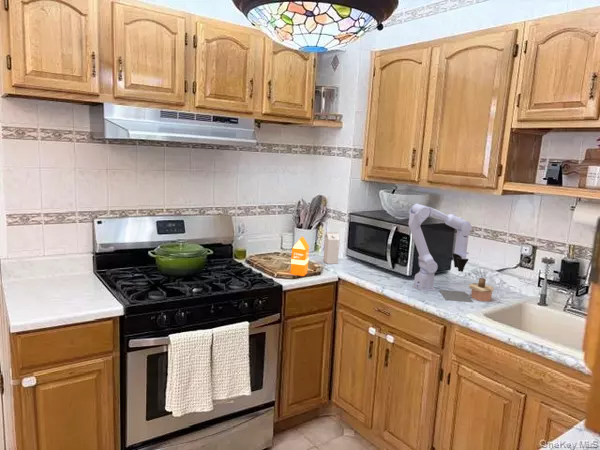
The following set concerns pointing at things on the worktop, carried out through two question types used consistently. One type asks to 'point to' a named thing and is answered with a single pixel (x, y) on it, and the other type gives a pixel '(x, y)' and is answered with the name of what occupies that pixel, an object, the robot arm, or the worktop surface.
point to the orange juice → (300, 258)
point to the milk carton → (331, 248)
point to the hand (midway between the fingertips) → (458, 269)
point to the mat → (455, 296)
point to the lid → (481, 286)
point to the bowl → (481, 295)
